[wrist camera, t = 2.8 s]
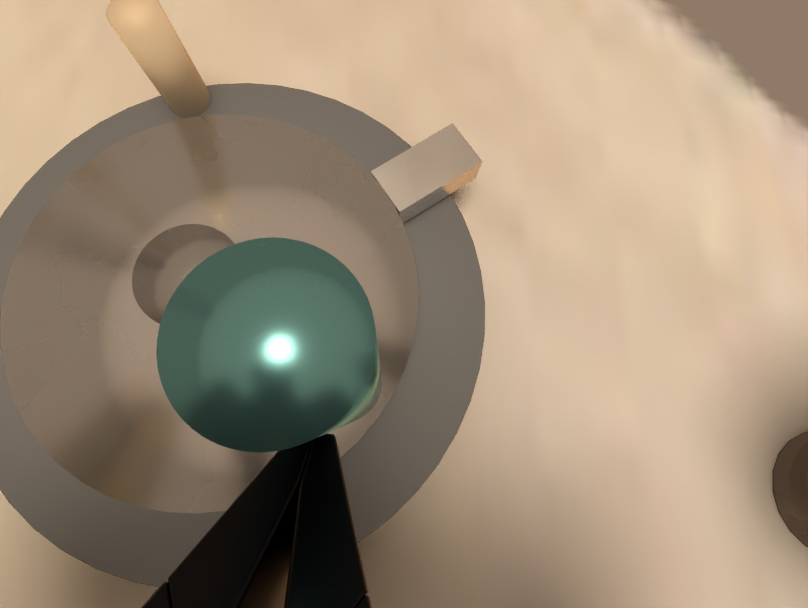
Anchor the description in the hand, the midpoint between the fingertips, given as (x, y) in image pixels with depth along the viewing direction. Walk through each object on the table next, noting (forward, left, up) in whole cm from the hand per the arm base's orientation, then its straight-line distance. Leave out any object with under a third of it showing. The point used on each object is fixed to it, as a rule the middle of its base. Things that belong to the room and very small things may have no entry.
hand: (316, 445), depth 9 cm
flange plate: (+4, +5, -5) cm, 8 cm away
